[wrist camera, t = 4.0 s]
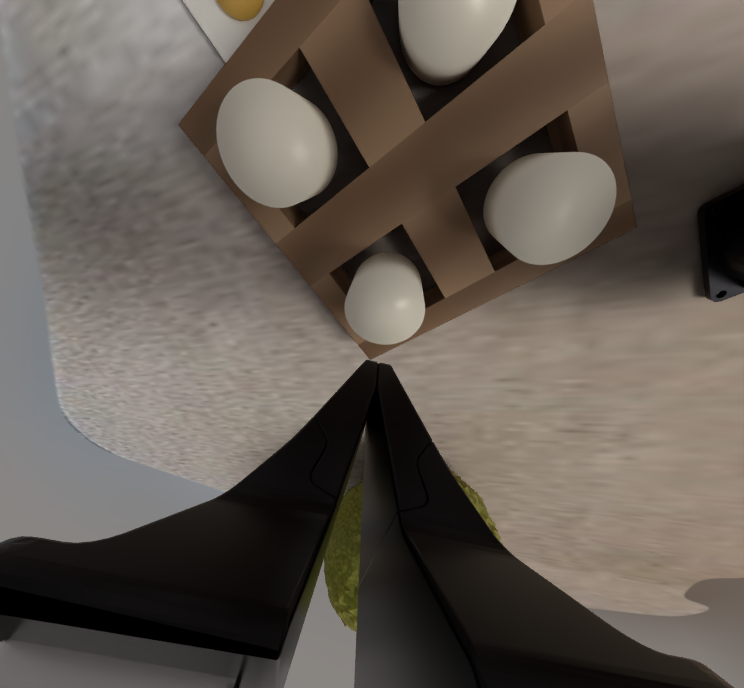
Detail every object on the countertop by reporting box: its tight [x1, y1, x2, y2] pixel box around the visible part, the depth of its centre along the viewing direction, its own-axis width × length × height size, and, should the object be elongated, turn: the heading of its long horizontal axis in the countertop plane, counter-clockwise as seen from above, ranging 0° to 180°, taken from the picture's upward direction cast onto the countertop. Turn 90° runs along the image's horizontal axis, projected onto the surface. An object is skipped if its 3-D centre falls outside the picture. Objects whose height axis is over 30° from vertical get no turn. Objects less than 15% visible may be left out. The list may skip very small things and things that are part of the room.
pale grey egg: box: [483, 152, 616, 265], centre depth 12 cm, size 4×4×3 cm
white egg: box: [398, 0, 517, 86], centre depth 11 cm, size 4×4×3 cm
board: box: [178, 0, 637, 360], centre depth 14 cm, size 16×16×2 cm
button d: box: [216, 78, 338, 208], centre depth 12 cm, size 4×4×3 cm
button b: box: [344, 252, 425, 345], centre depth 15 cm, size 4×4×3 cm
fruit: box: [324, 472, 503, 632], centre depth 26 cm, size 16×14×15 cm
